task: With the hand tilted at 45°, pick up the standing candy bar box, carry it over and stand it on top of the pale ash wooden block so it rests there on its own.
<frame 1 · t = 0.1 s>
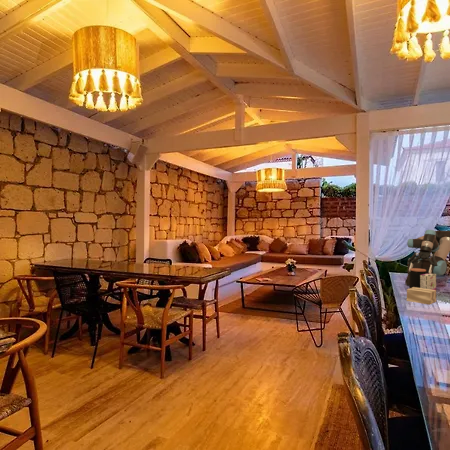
hand: (419, 272, 260), 15 cm above the table, tool tilted 35°, fingers open, 13 cm apart
coffee jar: (417, 293, 258), on the table
candy bar box: (427, 297, 246), on the table
ash block: (421, 301, 235), on the table
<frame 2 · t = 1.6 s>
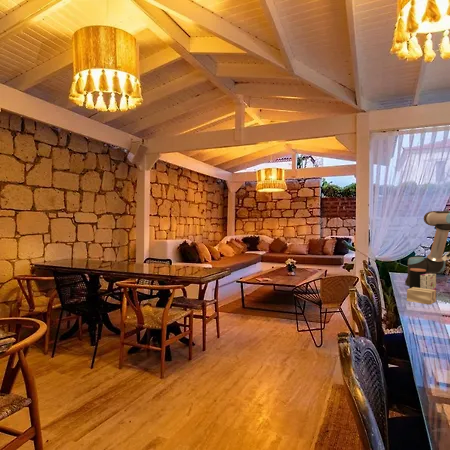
hand: (445, 258, 238), 28 cm above the table, tool tilted 45°, fingers open, 13 cm apart
nothing on the table moved.
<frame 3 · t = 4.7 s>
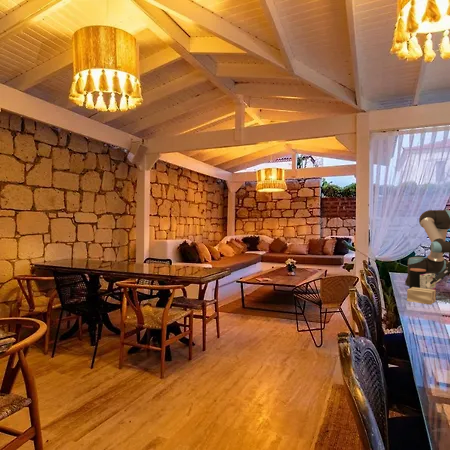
hand: (429, 284, 245), 9 cm above the table, tool tilted 45°, fingers open, 13 cm apart
candy bar box: (427, 297, 246), on the table, touching gripper
everything else where it was.
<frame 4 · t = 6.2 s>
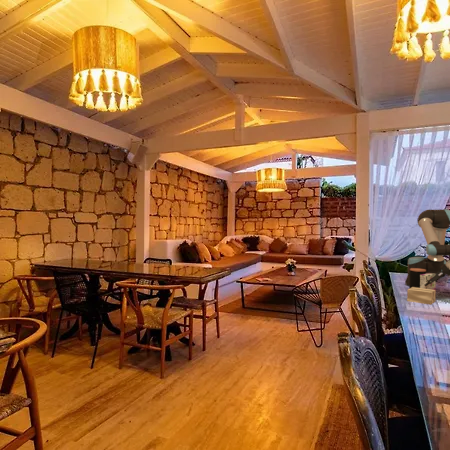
hand: (423, 287, 247), 7 cm above the table, tool tilted 45°, fingers closed on candy bar box, 12 cm apart
candy bar box: (427, 297, 246), on the table, touching gripper
everything else where it was.
when the fingers open (16 cm above the table, at t = 11.2 s): candy bar box drops 2 cm, resting on ash block.
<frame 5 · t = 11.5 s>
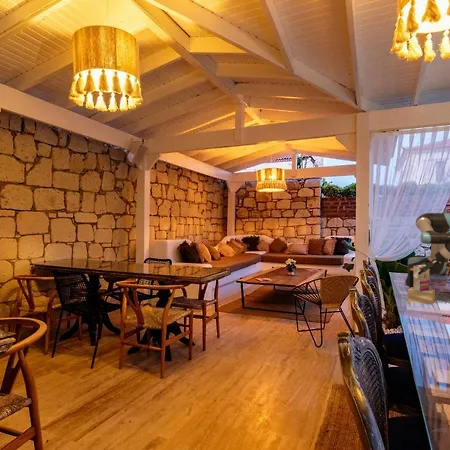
hand: (417, 275, 236), 17 cm above the table, tool tilted 45°, fingers open, 13 cm apart
candy bar box: (421, 290, 235), point 8 cm above the table, touching ash block, gripper
ash block: (421, 301, 235), on the table, touching candy bar box
everything else where it was.
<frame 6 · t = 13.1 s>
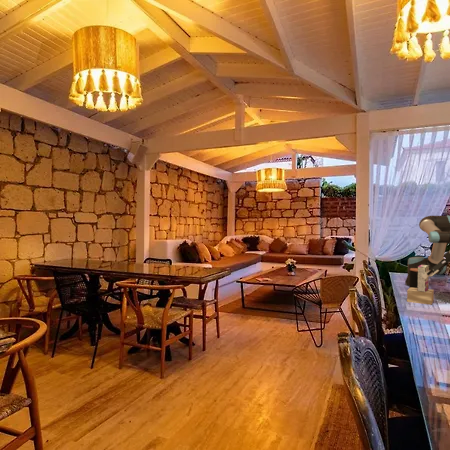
hand: (426, 276, 232), 17 cm above the table, tool tilted 45°, fingers open, 13 cm apart
candy bar box: (422, 290, 233), point 8 cm above the table, touching gripper
ash block: (420, 301, 235), on the table
everything else where it was.
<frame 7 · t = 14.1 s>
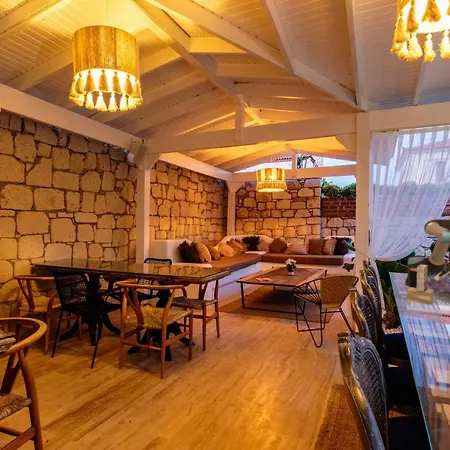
hand: (438, 277, 228), 17 cm above the table, tool tilted 45°, fingers open, 13 cm apart
candy bar box: (421, 290, 234), point 8 cm above the table, touching ash block
ash block: (419, 301, 235), on the table, touching candy bar box
everything else where it was.
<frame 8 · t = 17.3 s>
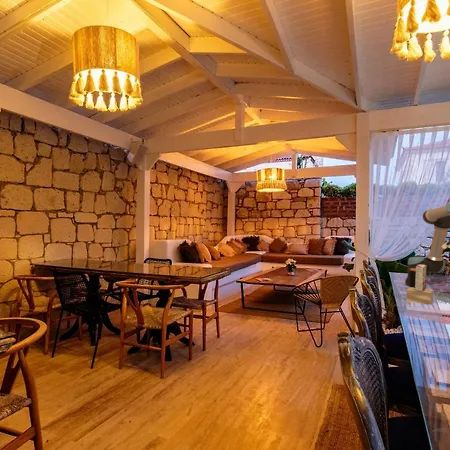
hand: (445, 247, 242), 36 cm above the table, tool tilted 45°, fingers open, 13 cm apart
candy bar box: (419, 290, 235), point 8 cm above the table, touching ash block
everything else where it was.
at the end: candy bar box inside the target area on the ash block (0.3 cm from its centre), point 7.9 cm above the ash block's base; candy bar box tilted 2°; the gripper is holding nothing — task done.
